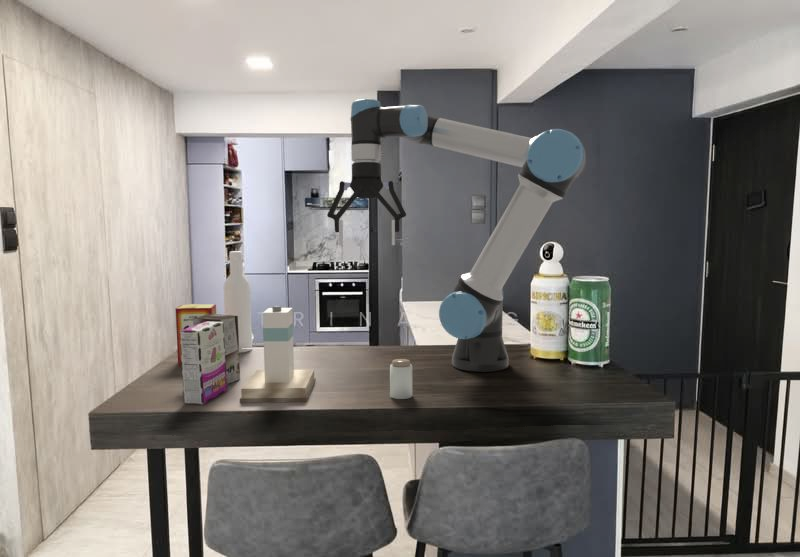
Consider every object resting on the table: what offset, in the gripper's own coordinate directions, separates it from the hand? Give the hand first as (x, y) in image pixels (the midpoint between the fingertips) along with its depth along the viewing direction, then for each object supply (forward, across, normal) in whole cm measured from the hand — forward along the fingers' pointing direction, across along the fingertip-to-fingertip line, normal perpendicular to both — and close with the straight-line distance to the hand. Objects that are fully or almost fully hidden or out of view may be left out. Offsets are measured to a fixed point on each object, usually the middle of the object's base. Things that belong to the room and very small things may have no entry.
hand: (367, 245), depth 158 cm
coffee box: (+33, +37, +10) cm, 51 cm away
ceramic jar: (+33, -8, +25) cm, 42 cm away
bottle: (+33, +40, -24) cm, 57 cm away
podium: (+33, +20, +20) cm, 43 cm away
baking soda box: (+33, +48, -10) cm, 59 cm away
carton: (+30, +20, +20) cm, 41 cm away
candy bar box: (+33, +36, +24) cm, 54 cm away
